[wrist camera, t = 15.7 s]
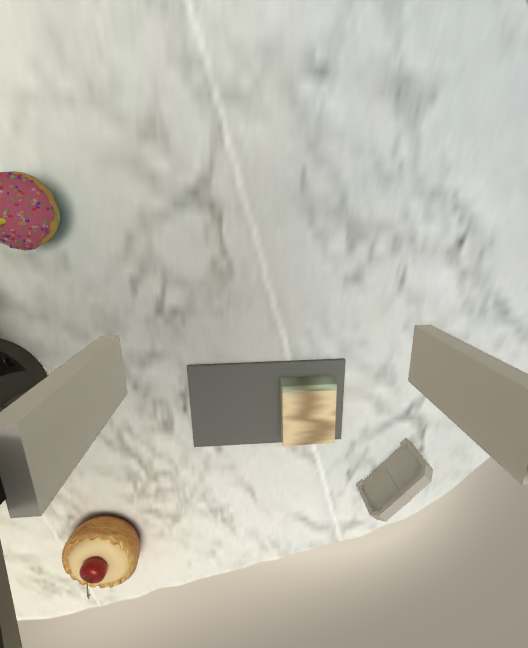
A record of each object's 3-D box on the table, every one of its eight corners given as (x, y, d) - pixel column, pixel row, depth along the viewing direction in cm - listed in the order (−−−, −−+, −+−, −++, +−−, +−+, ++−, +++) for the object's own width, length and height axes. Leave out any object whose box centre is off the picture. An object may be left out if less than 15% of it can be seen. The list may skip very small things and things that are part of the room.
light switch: (355, 483, 58) (372, 521, 50) (405, 437, 56) (430, 470, 48) (362, 488, 58) (380, 527, 50) (412, 443, 56) (438, 476, 48)
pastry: (141, 506, 56) (122, 556, 48) (148, 558, 59) (132, 614, 51) (68, 510, 55) (37, 561, 47) (79, 563, 59) (52, 619, 50)
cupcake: (72, 253, 44) (12, 262, 32) (4, 238, 43) (-83, 242, 31) (77, 186, 42) (14, 170, 30) (5, 169, 41) (-88, 145, 29)
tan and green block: (329, 431, 53) (331, 375, 51) (334, 442, 51) (336, 383, 48) (280, 434, 53) (280, 377, 50) (283, 445, 50) (282, 386, 47)
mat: (194, 444, 53) (194, 446, 53) (187, 365, 49) (186, 366, 49) (339, 436, 55) (341, 438, 54) (344, 358, 51) (345, 360, 50)
